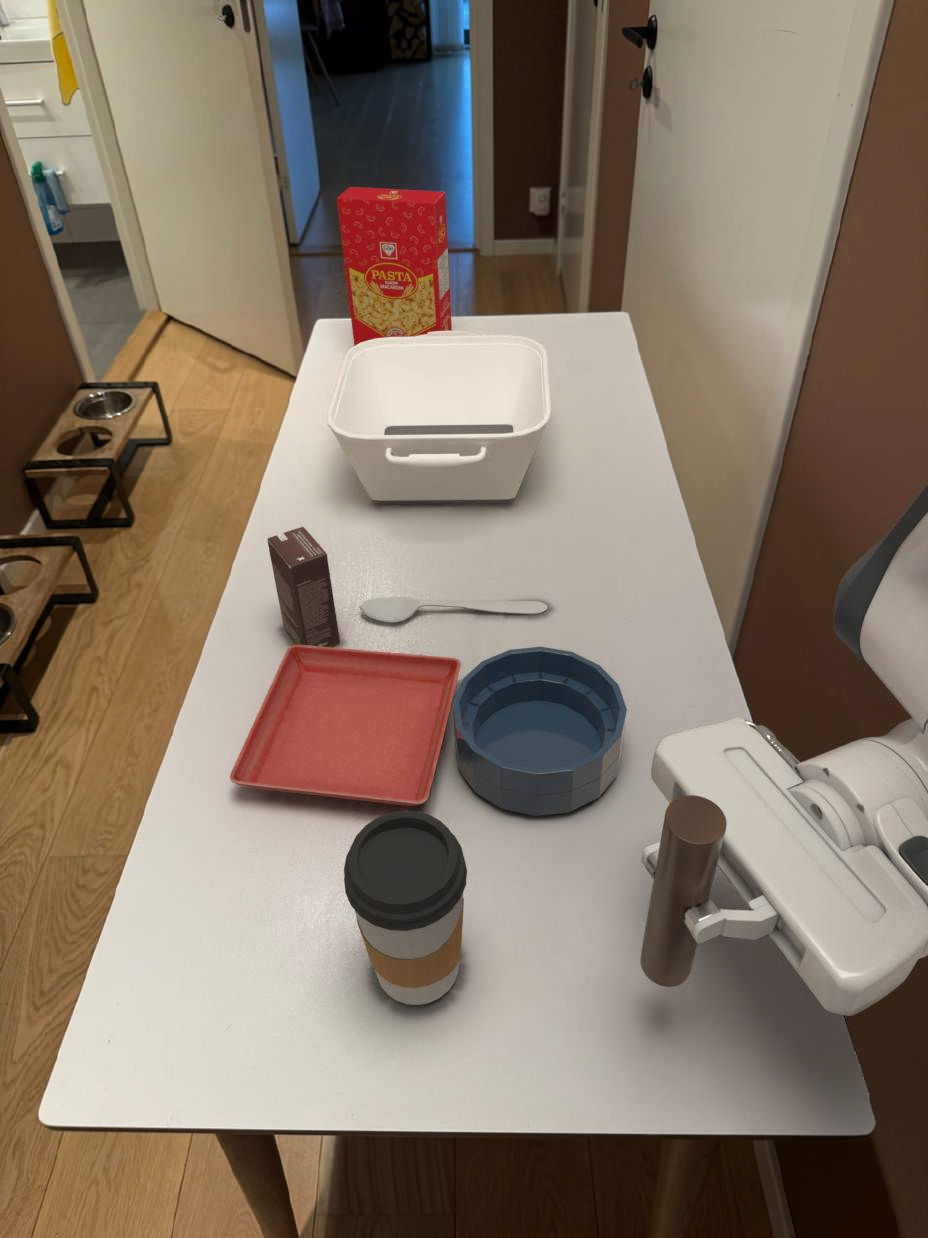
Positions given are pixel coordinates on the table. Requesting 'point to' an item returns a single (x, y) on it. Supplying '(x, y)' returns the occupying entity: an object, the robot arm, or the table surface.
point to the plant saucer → (350, 725)
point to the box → (304, 588)
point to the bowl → (539, 730)
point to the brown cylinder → (680, 886)
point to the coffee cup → (409, 903)
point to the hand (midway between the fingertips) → (668, 896)
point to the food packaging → (395, 261)
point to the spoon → (405, 606)
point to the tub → (441, 415)
